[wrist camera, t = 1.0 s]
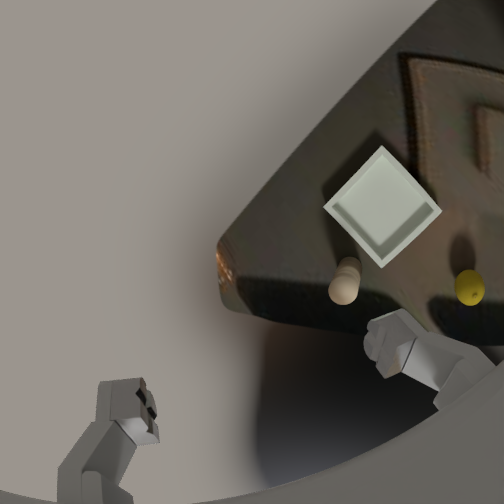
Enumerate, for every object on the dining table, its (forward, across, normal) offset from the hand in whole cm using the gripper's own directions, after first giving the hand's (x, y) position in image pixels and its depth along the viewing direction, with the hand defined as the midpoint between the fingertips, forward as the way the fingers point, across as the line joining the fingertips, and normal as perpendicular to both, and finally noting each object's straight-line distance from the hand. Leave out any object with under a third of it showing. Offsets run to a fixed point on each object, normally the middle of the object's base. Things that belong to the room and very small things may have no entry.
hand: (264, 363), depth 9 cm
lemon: (+18, -42, +19) cm, 50 cm away
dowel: (+31, -25, +20) cm, 45 cm away
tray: (+30, -30, +9) cm, 43 cm away
